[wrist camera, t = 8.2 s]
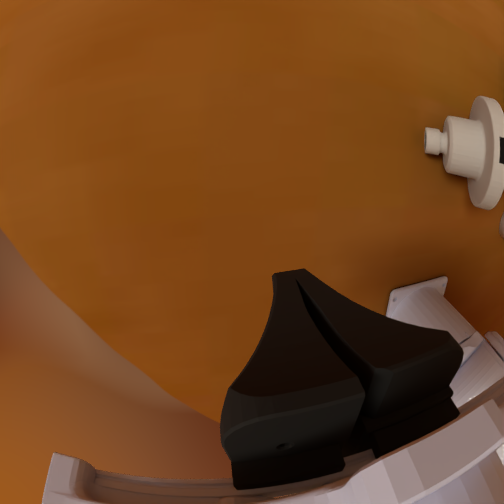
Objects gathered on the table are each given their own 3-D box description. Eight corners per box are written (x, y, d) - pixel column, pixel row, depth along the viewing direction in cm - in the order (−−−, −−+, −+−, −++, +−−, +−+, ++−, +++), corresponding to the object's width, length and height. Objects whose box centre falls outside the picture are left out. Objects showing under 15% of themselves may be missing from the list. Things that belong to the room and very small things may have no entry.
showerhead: (481, 202, 20) (514, 223, 12) (419, 190, 24) (426, 204, 15) (484, 112, 17) (516, 91, 9) (420, 99, 20) (426, 69, 12)
